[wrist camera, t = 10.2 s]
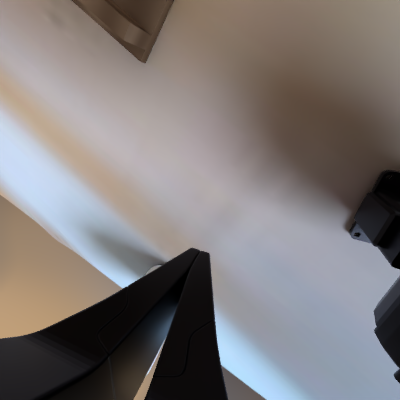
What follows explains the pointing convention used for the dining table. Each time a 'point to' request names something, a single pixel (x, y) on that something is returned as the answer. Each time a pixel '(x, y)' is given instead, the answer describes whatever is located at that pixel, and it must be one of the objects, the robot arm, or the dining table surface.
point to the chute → (129, 21)
